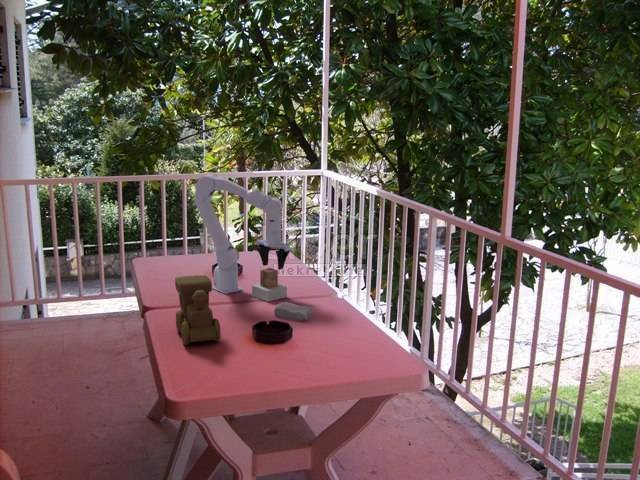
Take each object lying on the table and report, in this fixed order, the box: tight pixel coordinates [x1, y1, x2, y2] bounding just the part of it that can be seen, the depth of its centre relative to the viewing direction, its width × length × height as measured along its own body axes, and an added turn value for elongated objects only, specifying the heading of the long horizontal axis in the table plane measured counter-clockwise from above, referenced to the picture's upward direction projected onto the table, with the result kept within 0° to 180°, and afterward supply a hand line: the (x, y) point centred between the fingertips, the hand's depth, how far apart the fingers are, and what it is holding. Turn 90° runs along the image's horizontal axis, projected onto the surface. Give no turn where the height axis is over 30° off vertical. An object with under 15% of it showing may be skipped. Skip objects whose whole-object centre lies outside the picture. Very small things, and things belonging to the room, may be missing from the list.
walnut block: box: [259, 267, 279, 288], centre depth 241 cm, size 4×4×6 cm
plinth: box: [251, 283, 288, 303], centre depth 242 cm, size 9×9×4 cm
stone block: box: [273, 301, 314, 322], centre depth 223 cm, size 12×5×10 cm
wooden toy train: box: [174, 274, 221, 346], centre depth 201 cm, size 20×11×17 cm, turn 21°
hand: (273, 266), depth 246 cm, fingers open, 7 cm apart
